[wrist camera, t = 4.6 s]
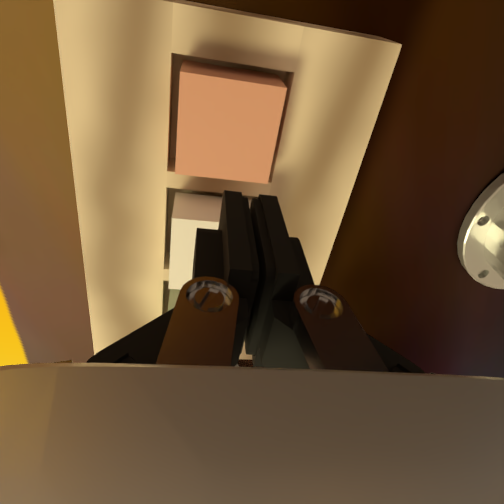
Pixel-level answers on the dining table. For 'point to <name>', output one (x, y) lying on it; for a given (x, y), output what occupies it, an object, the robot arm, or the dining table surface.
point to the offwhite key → (189, 232)
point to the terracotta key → (227, 122)
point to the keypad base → (165, 134)
